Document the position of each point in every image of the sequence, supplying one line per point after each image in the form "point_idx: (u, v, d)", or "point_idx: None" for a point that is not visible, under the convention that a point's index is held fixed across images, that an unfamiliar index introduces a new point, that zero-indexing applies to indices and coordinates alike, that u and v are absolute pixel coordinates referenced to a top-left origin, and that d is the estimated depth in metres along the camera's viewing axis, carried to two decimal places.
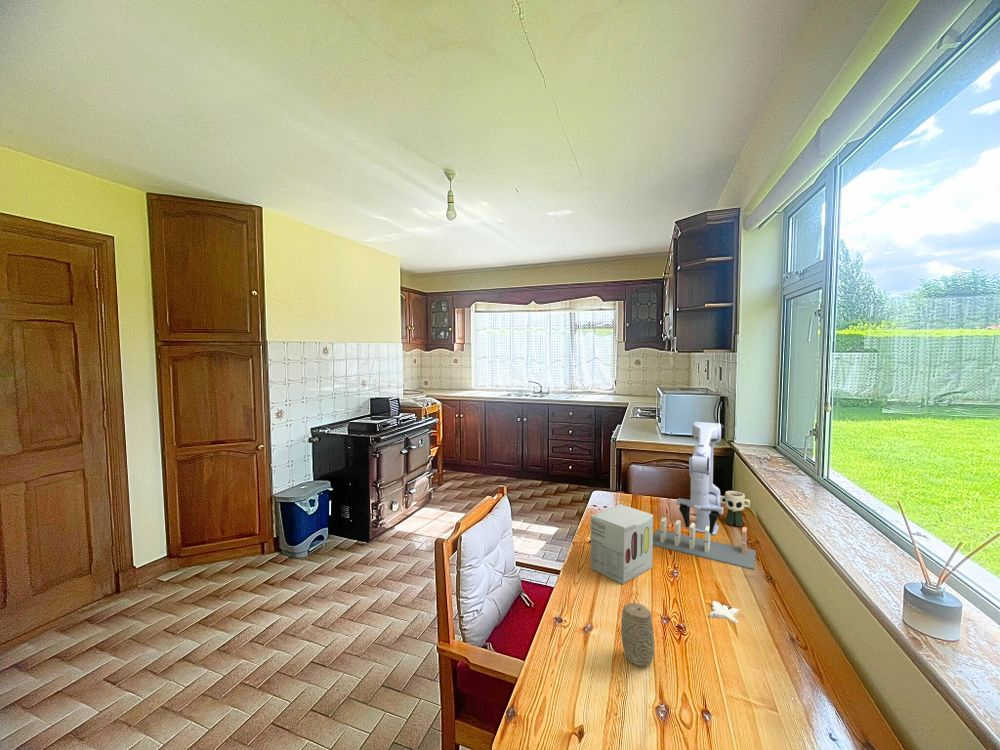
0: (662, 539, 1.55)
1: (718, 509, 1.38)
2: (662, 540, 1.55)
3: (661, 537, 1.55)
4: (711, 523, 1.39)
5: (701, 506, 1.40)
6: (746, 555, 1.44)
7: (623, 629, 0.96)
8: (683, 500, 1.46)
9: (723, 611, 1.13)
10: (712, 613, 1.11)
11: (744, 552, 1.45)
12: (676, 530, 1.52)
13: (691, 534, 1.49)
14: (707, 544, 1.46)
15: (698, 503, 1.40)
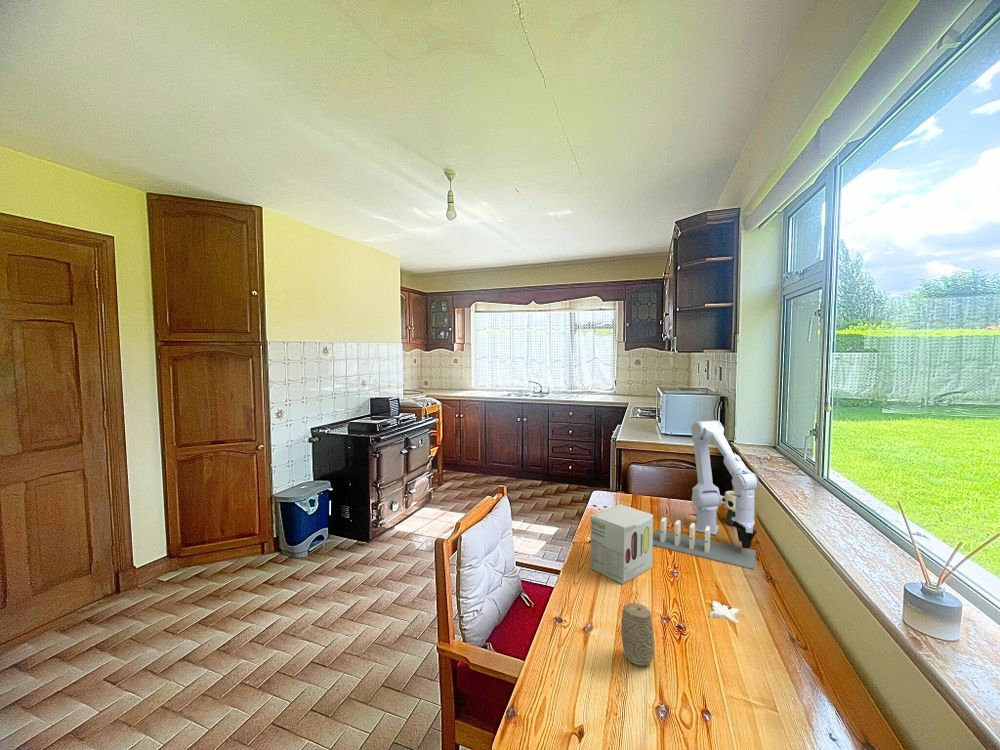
0: (662, 539, 1.55)
1: (745, 526, 1.41)
2: (662, 540, 1.55)
3: (661, 537, 1.55)
4: (740, 537, 1.44)
5: (736, 519, 1.46)
6: (746, 555, 1.44)
7: (623, 629, 0.96)
8: None
9: (723, 611, 1.13)
10: (712, 613, 1.11)
11: (744, 552, 1.45)
12: (676, 530, 1.52)
13: (691, 534, 1.49)
14: (707, 544, 1.46)
15: (735, 516, 1.47)
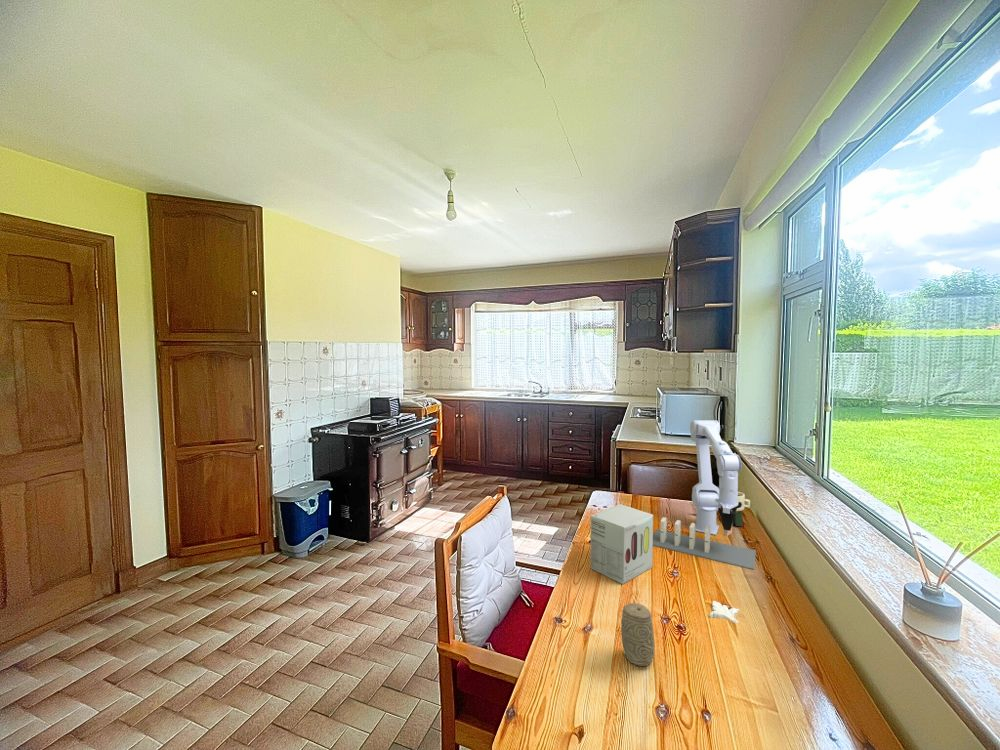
0: (662, 539, 1.55)
1: (723, 507, 1.40)
2: (662, 540, 1.55)
3: (661, 537, 1.55)
4: None
5: (719, 501, 1.45)
6: (746, 555, 1.44)
7: (623, 629, 0.96)
8: None
9: (723, 611, 1.13)
10: (712, 613, 1.11)
11: (726, 534, 1.44)
12: (676, 530, 1.52)
13: (691, 534, 1.49)
14: (707, 544, 1.46)
15: (719, 497, 1.46)
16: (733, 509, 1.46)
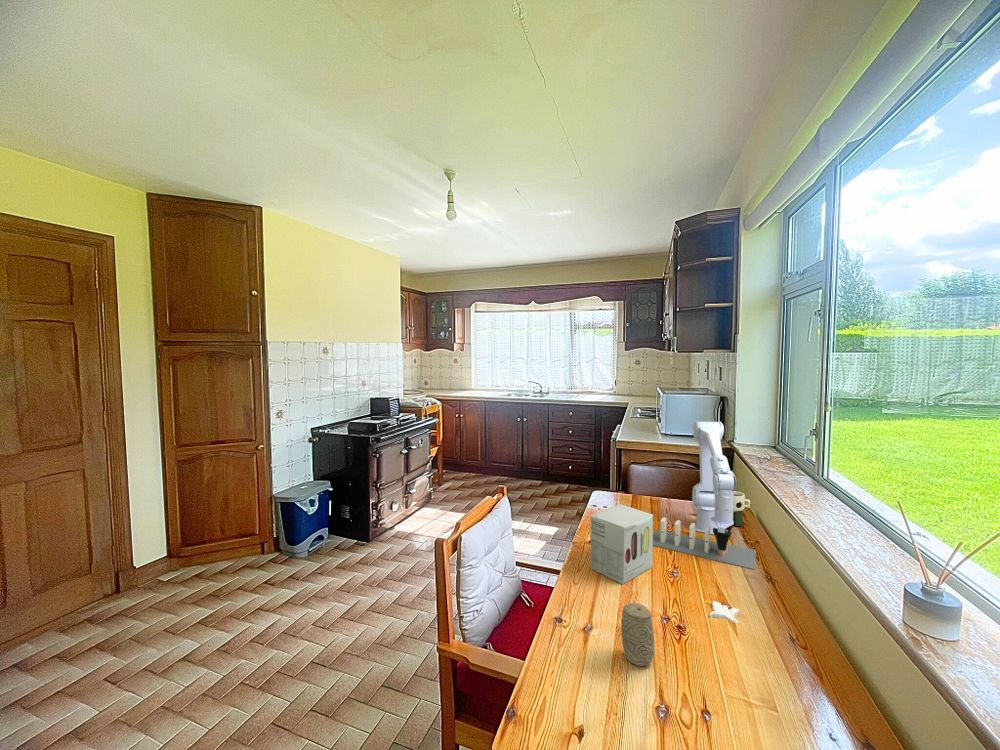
0: (662, 539, 1.55)
1: (718, 526, 1.40)
2: (662, 540, 1.55)
3: (661, 537, 1.55)
4: None
5: (714, 519, 1.45)
6: (746, 555, 1.44)
7: (623, 629, 0.96)
8: None
9: (723, 611, 1.13)
10: (712, 613, 1.11)
11: (721, 554, 1.44)
12: (676, 530, 1.52)
13: (691, 534, 1.49)
14: (707, 544, 1.46)
15: (714, 516, 1.46)
16: (729, 526, 1.47)
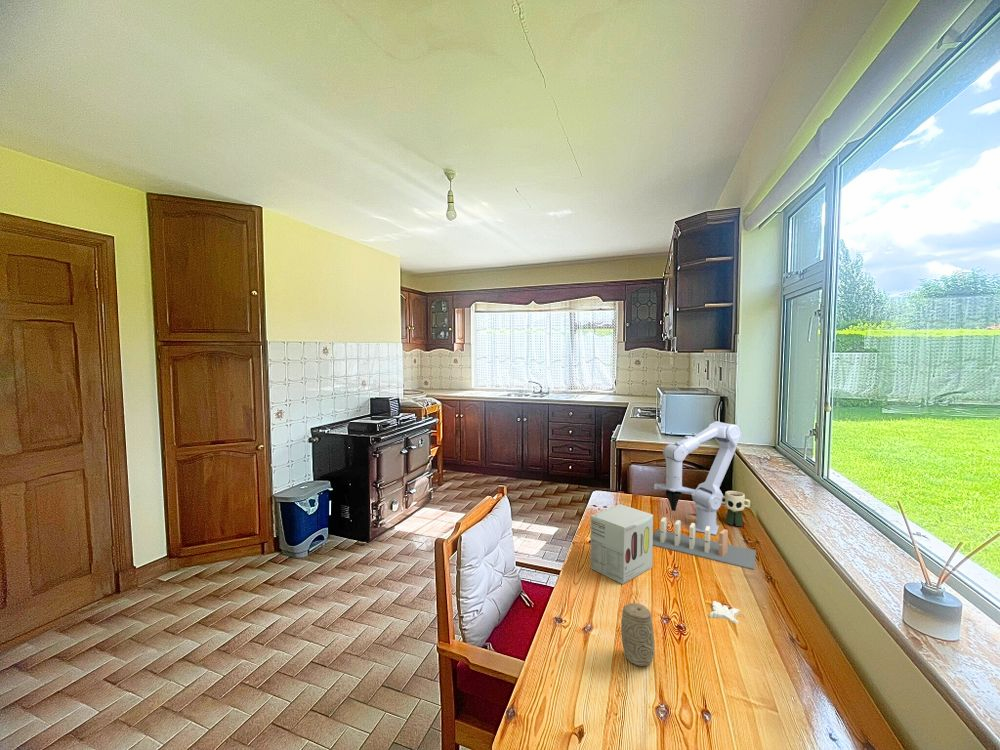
0: (662, 539, 1.55)
1: (690, 491, 1.57)
2: (662, 540, 1.55)
3: (661, 537, 1.55)
4: (675, 502, 1.59)
5: (676, 489, 1.58)
6: (746, 555, 1.44)
7: (623, 629, 0.96)
8: (659, 485, 1.64)
9: (723, 611, 1.13)
10: (712, 613, 1.11)
11: (721, 554, 1.44)
12: (676, 530, 1.52)
13: (691, 534, 1.49)
14: (707, 544, 1.46)
15: (673, 486, 1.58)
16: (674, 494, 1.63)
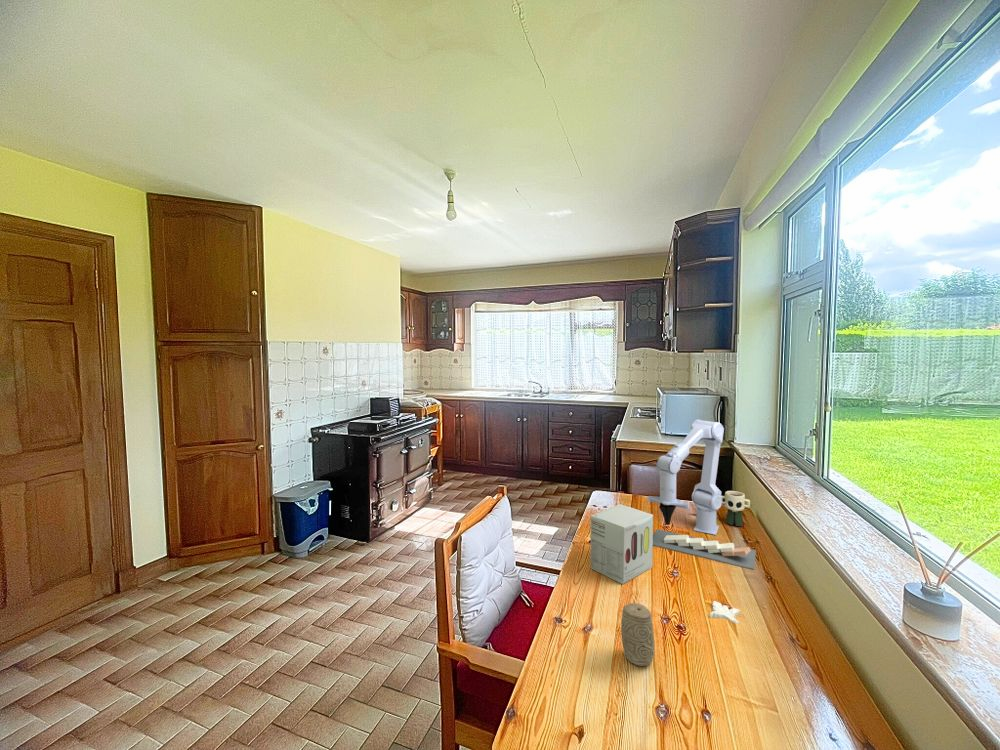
0: (667, 541, 1.54)
1: (685, 504, 1.51)
2: (666, 541, 1.54)
3: (668, 540, 1.53)
4: (668, 515, 1.53)
5: (670, 502, 1.52)
6: (746, 555, 1.44)
7: (623, 629, 0.96)
8: (653, 497, 1.58)
9: (724, 611, 1.13)
10: (712, 613, 1.11)
11: (723, 555, 1.43)
12: (694, 544, 1.48)
13: (709, 547, 1.46)
14: (717, 551, 1.44)
15: (667, 499, 1.52)
16: (668, 507, 1.56)
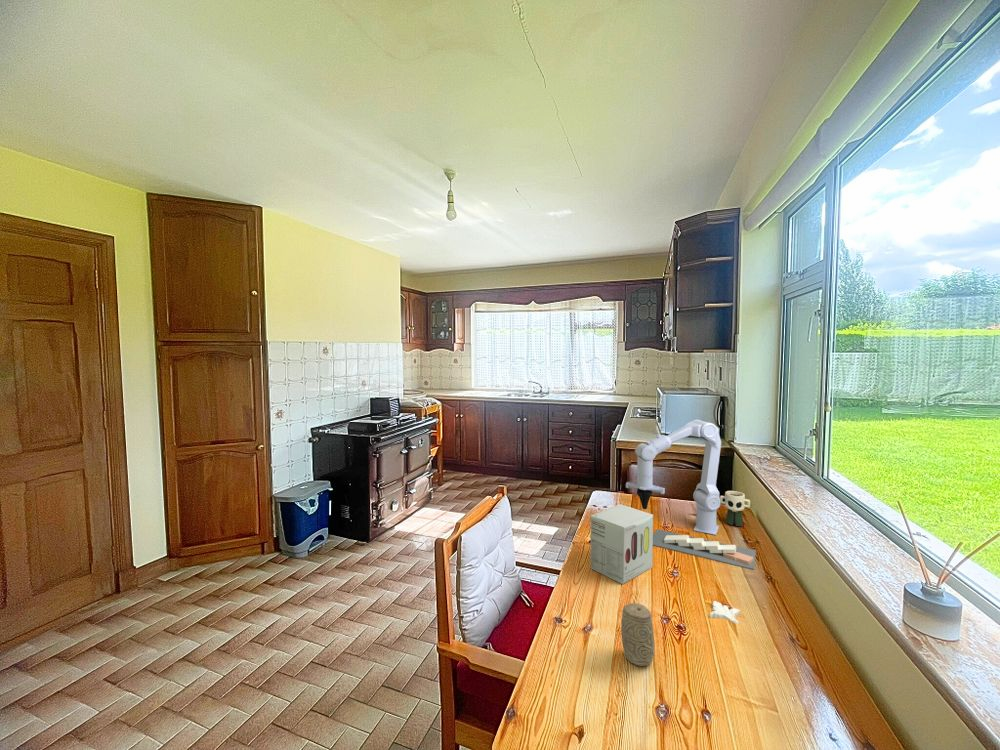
0: (667, 541, 1.54)
1: (660, 489, 1.59)
2: (666, 541, 1.54)
3: (669, 540, 1.53)
4: (645, 500, 1.62)
5: (646, 487, 1.61)
6: None
7: (623, 629, 0.96)
8: (631, 483, 1.66)
9: (724, 611, 1.13)
10: (712, 613, 1.11)
11: (724, 556, 1.43)
12: (695, 544, 1.48)
13: (709, 548, 1.46)
14: (719, 552, 1.44)
15: (644, 485, 1.61)
16: None
